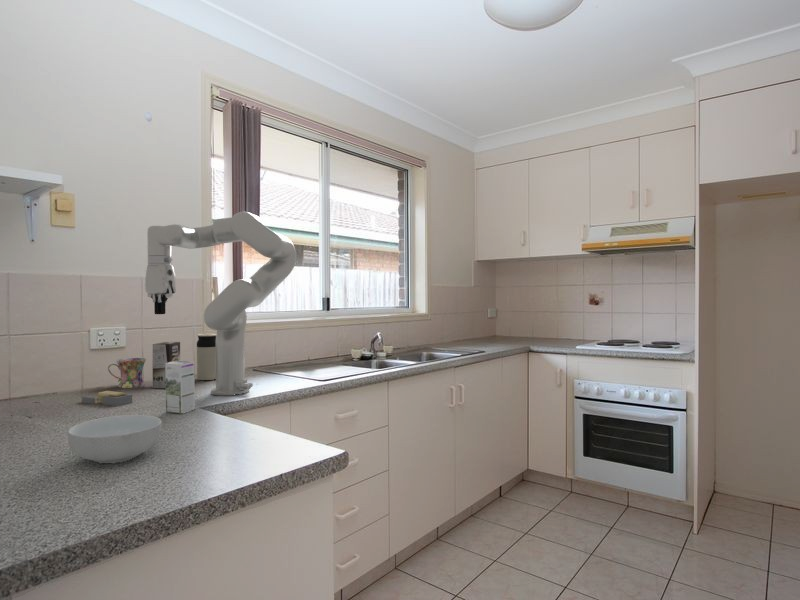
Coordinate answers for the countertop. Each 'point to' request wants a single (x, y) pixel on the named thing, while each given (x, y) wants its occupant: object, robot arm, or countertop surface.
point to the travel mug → (206, 357)
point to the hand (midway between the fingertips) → (160, 314)
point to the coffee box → (163, 361)
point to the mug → (130, 372)
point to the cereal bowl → (114, 437)
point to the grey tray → (110, 400)
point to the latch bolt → (109, 393)
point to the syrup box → (180, 386)
